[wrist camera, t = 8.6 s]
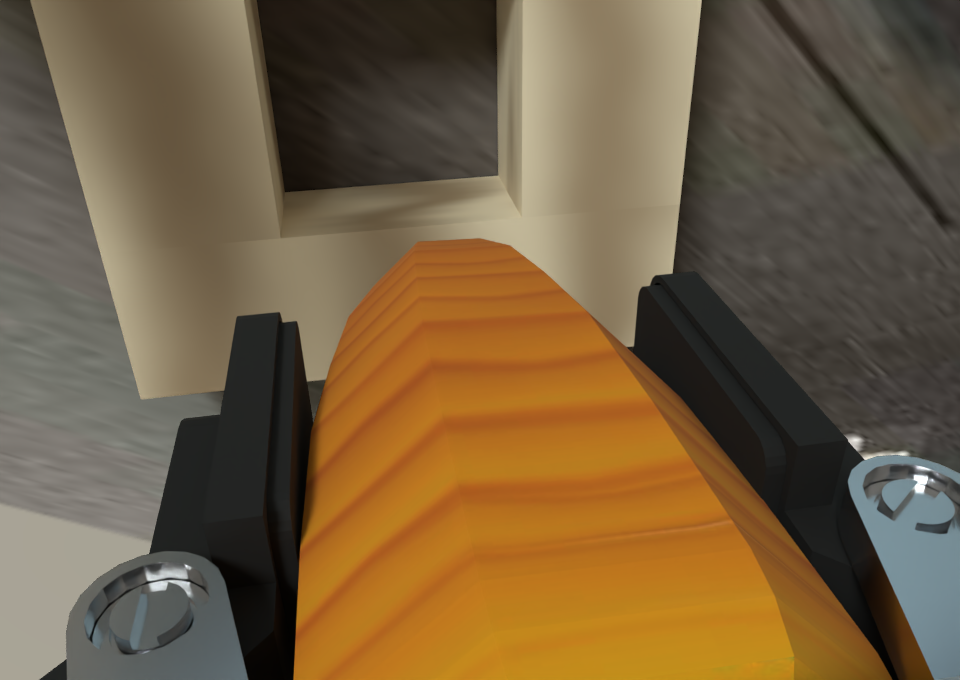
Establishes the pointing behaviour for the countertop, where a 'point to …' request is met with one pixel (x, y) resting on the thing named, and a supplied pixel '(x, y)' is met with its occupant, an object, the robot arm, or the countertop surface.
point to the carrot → (535, 504)
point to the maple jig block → (366, 209)
